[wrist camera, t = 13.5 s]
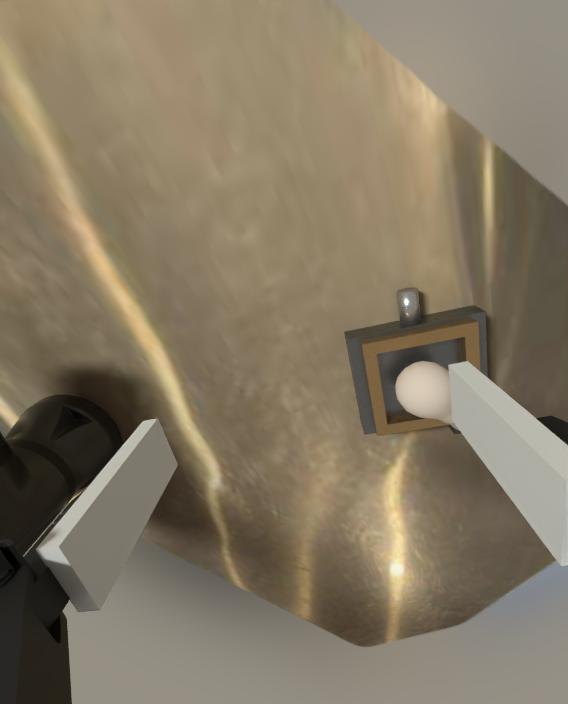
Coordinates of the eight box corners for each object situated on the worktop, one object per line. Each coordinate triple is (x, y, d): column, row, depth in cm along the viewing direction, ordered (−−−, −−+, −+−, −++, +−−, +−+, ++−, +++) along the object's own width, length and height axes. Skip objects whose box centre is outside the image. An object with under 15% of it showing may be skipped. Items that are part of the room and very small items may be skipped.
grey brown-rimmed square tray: (364, 439, 49) (369, 459, 44) (338, 302, 42) (342, 311, 37) (478, 421, 46) (495, 440, 42) (471, 273, 39) (491, 279, 35)
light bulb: (505, 427, 36) (439, 371, 33) (453, 458, 38) (389, 409, 36) (479, 391, 41) (421, 340, 38) (435, 420, 44) (378, 375, 41)
